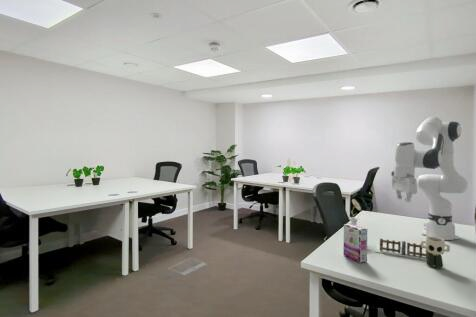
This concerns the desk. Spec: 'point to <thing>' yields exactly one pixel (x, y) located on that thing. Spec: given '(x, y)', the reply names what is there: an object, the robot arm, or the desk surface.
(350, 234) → the candy bar box
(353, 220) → the flower in vase
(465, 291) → the desk surface
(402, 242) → the fence panel with post
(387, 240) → the fence gate
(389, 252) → the card
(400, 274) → the desk surface
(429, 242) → the character mug
